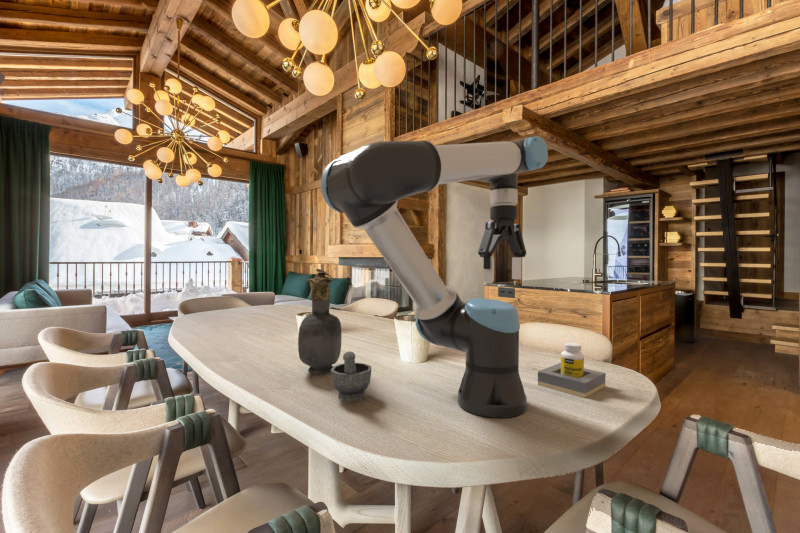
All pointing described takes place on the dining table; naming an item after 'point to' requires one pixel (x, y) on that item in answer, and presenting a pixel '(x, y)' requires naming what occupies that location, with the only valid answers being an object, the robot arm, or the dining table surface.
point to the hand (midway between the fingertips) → (503, 280)
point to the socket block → (571, 381)
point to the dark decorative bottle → (320, 329)
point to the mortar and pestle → (351, 378)
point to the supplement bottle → (572, 360)
